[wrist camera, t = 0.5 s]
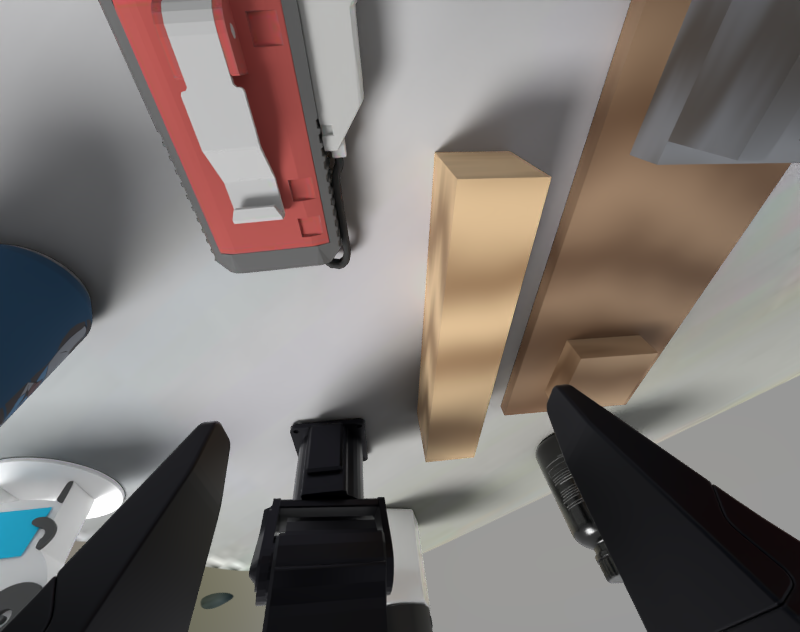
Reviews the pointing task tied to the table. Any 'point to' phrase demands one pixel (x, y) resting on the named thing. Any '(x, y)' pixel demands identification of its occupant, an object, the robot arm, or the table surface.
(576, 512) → the supplement bottle
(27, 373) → the soda can
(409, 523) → the jar
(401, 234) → the table surface
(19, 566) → the panda figurine
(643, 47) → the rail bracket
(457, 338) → the oak rail
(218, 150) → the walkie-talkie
